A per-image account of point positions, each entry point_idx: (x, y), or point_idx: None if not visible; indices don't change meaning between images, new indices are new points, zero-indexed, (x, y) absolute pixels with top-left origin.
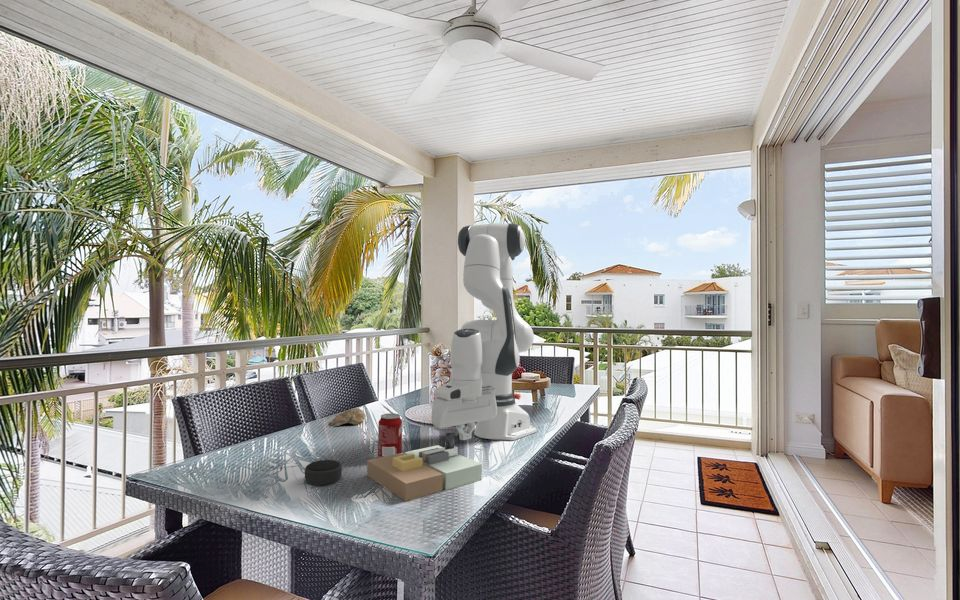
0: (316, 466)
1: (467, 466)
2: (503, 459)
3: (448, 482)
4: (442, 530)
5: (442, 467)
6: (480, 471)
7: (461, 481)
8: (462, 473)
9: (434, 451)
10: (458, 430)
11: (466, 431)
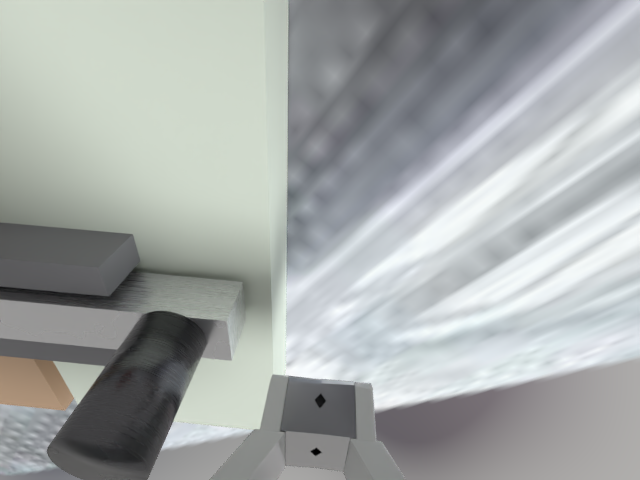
0: None
1: (203, 417)
2: (580, 291)
3: None
4: (40, 456)
5: (87, 372)
6: None
7: None
8: None
9: (31, 331)
10: (229, 467)
11: (349, 444)
